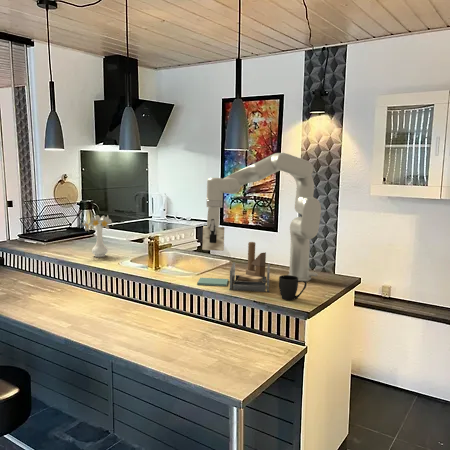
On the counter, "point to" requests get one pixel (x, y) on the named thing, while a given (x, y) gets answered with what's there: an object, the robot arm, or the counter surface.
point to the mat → (212, 282)
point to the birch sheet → (219, 239)
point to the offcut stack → (249, 278)
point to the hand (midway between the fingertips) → (213, 241)
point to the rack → (248, 282)
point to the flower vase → (99, 234)
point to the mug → (289, 287)
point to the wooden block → (255, 261)
